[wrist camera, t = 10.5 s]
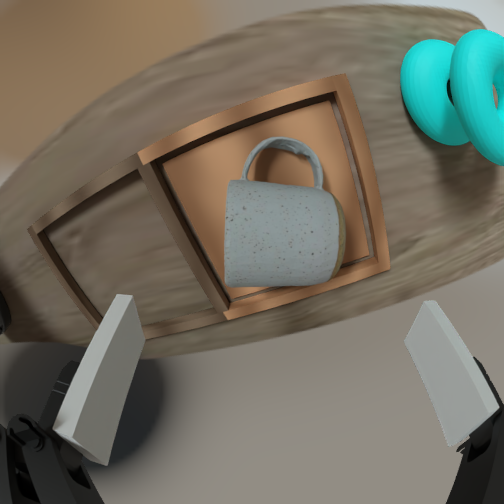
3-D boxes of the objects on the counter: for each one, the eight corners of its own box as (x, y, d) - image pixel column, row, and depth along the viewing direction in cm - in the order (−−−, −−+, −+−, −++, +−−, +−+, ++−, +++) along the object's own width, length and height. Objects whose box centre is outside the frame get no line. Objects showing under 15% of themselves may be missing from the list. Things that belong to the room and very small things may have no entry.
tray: (113, 340, 32) (110, 346, 31) (32, 224, 24) (26, 229, 23) (386, 262, 26) (390, 268, 25) (340, 74, 18) (345, 73, 16)
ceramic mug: (318, 256, 25) (338, 309, 18) (229, 253, 25) (220, 308, 18) (332, 140, 20) (368, 154, 13) (229, 134, 20) (215, 144, 13)
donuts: (451, 14, 7) (533, 43, 5) (381, 39, 15) (462, 46, 14) (478, 178, 11) (547, 167, 10) (404, 147, 20) (477, 139, 19)
